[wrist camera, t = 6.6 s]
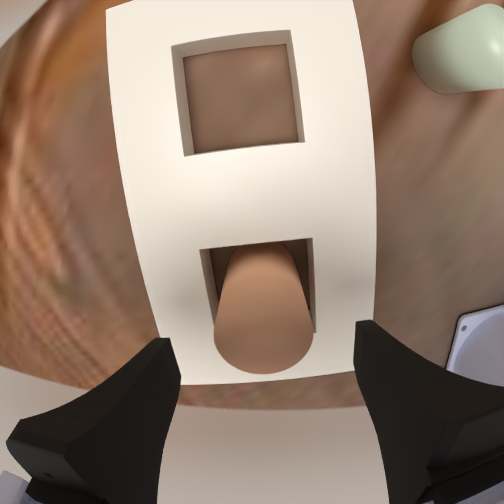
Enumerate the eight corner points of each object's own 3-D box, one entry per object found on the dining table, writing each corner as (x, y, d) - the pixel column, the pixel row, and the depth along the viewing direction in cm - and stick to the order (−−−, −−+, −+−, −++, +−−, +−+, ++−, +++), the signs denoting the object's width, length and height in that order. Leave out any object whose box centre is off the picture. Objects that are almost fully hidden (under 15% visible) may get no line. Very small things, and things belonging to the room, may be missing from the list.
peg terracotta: (297, 299, 19) (313, 369, 13) (231, 305, 19) (221, 376, 13) (294, 235, 18) (313, 289, 12) (222, 242, 18) (205, 297, 12)
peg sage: (468, 97, 14) (539, 93, 8) (416, 91, 15) (484, 79, 9) (459, 38, 13) (524, 16, 7) (406, 29, 13) (465, -6, 7)
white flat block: (358, 344, 20) (367, 368, 18) (183, 360, 21) (176, 384, 19) (335, -6, 13) (346, -24, 10) (123, 23, 14) (106, 9, 11)
